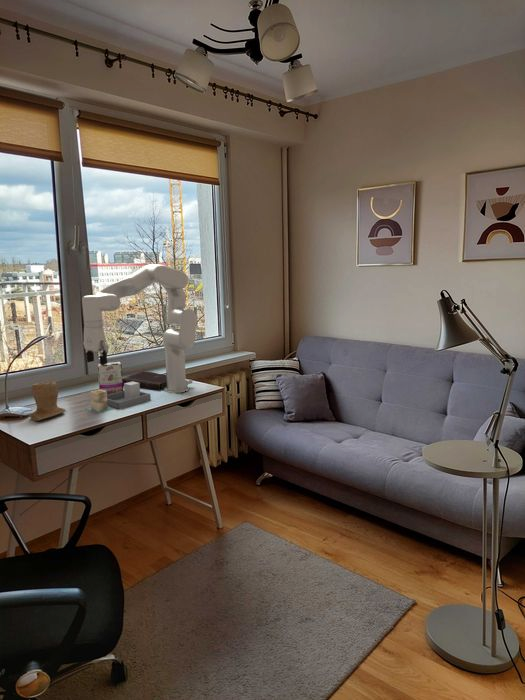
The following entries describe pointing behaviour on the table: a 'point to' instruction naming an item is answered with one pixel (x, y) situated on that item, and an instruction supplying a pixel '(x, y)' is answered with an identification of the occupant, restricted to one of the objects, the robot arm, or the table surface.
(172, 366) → the robot arm
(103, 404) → the labelled block
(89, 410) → the mat
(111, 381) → the candy bar box
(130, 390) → the grey block
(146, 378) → the diary
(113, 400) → the parts bin
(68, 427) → the table surface
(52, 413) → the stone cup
